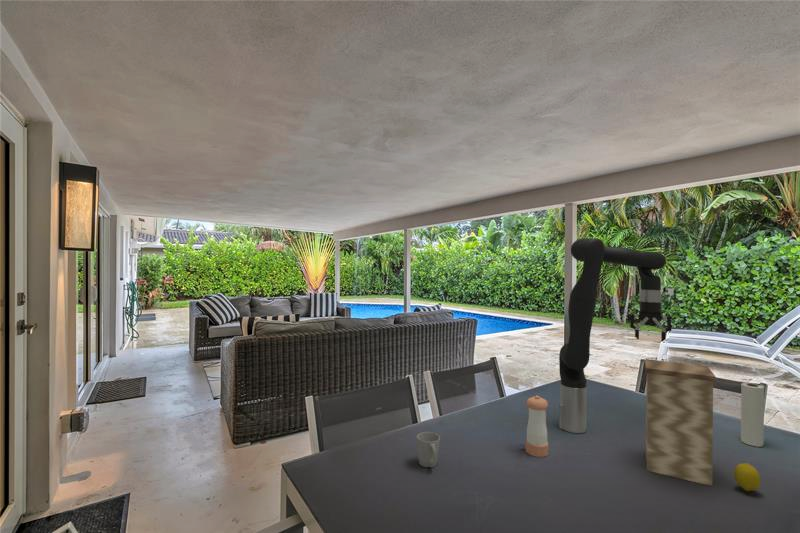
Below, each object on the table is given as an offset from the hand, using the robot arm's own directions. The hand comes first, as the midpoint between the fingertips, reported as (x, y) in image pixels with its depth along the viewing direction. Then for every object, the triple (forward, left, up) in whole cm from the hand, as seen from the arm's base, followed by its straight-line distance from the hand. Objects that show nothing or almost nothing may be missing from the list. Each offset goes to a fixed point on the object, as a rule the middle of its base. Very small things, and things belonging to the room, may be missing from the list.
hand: (650, 340), depth 159 cm
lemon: (+22, -44, -34) cm, 60 cm away
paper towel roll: (+32, -2, -34) cm, 47 cm away
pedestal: (+6, -39, -34) cm, 52 cm away
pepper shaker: (-34, -52, -34) cm, 71 cm away
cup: (-61, -80, -34) cm, 106 cm away
